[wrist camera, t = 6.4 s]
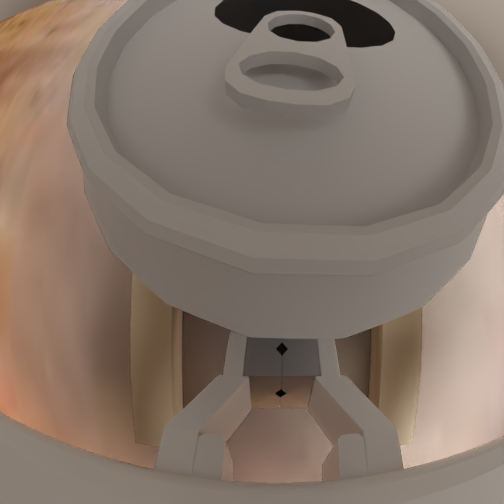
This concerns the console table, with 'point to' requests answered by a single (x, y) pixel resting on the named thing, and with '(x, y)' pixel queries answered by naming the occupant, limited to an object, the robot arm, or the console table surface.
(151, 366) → the slot rails
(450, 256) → the can
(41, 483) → the robot arm
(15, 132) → the console table surface
